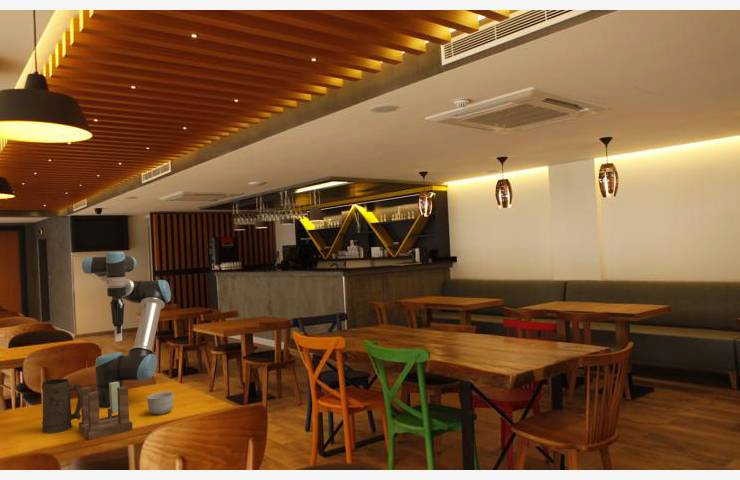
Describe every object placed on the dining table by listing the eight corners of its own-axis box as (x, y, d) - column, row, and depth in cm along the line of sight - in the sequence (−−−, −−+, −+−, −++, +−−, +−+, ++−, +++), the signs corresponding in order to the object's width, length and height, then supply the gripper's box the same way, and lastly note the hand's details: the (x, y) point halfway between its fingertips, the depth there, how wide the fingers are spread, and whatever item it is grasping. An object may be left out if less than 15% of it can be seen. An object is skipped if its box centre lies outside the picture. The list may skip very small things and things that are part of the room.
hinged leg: (110, 412, 239) (109, 383, 240) (118, 410, 241) (117, 381, 242) (112, 413, 237) (111, 383, 237) (120, 411, 239) (119, 382, 239)
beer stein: (38, 435, 228) (40, 384, 228) (41, 427, 237) (43, 378, 238) (81, 431, 234) (83, 381, 234) (83, 424, 244) (85, 376, 244)
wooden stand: (79, 430, 232) (77, 388, 232) (121, 421, 242) (119, 380, 243) (89, 439, 220) (87, 395, 220) (133, 429, 230) (131, 387, 230)
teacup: (165, 416, 247) (164, 398, 247) (142, 416, 249) (141, 397, 249) (182, 407, 260) (181, 389, 260) (160, 406, 262) (159, 389, 262)
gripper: (103, 287, 255) (105, 340, 255) (111, 288, 245) (113, 343, 245) (121, 285, 260) (122, 338, 260) (130, 286, 250) (131, 341, 249)
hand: (118, 340), depth 252 cm, fingers closed
